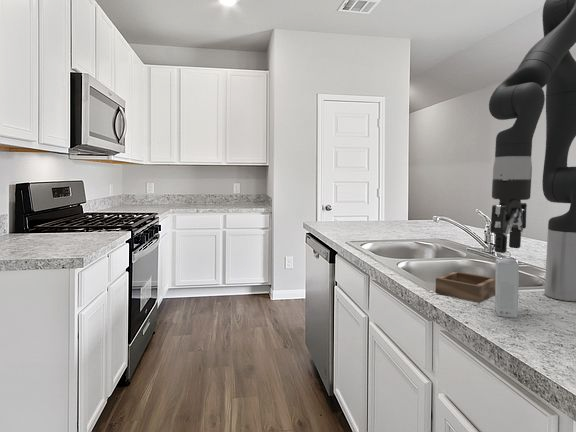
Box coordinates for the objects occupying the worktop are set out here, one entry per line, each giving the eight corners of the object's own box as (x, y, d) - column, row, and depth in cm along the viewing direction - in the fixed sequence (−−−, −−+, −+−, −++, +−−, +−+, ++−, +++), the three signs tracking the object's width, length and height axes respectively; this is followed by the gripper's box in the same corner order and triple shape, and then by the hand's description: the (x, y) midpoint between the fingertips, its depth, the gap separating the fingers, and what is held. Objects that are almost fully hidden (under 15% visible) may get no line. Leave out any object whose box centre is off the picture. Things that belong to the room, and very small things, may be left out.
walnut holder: (454, 284, 115) (455, 271, 115) (496, 293, 107) (497, 278, 106) (435, 292, 108) (435, 278, 107) (478, 302, 99) (479, 286, 99)
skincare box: (518, 318, 88) (521, 264, 87) (495, 316, 90) (498, 262, 88) (514, 310, 94) (517, 258, 92) (493, 307, 95) (495, 257, 94)
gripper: (505, 177, 96) (502, 244, 98) (480, 177, 87) (477, 251, 88) (541, 177, 91) (536, 248, 92) (518, 177, 81) (514, 256, 83)
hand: (507, 250), depth 90 cm, fingers open, 8 cm apart
